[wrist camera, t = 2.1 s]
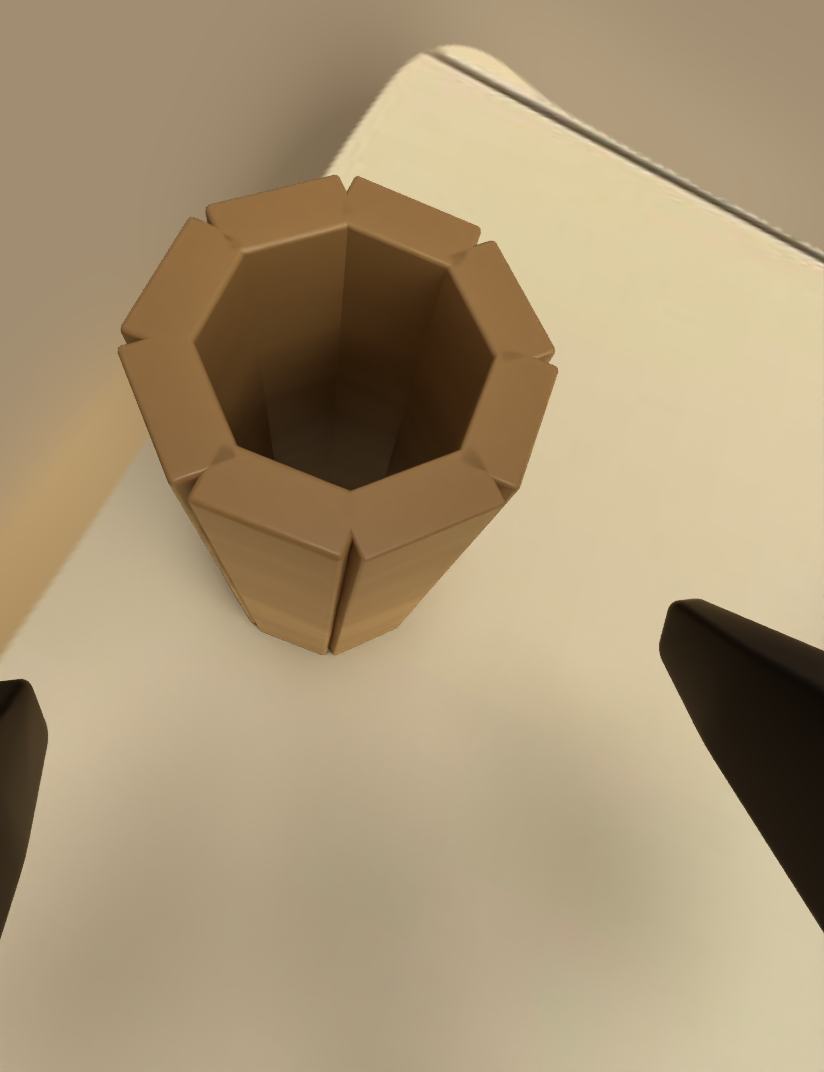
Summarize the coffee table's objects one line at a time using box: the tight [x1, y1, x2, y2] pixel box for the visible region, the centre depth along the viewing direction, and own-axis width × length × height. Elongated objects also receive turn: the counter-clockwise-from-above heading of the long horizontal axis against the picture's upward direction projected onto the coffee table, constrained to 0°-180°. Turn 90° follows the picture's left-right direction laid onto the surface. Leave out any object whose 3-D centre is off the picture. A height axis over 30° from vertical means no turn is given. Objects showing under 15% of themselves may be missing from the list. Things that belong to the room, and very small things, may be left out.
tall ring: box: [118, 175, 558, 655], centre depth 15 cm, size 6×6×12 cm
